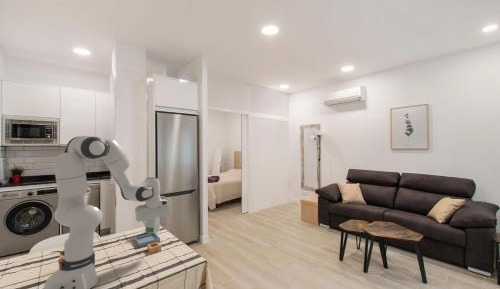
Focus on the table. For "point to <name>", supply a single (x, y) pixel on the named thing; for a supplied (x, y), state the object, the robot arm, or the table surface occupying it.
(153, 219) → the skincare box
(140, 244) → the tray
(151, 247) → the orange hollow block
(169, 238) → the table surface
